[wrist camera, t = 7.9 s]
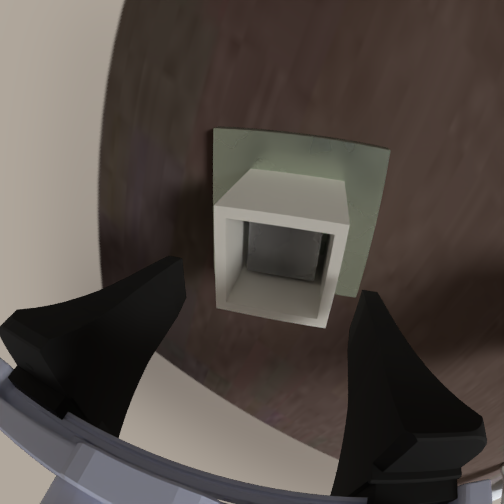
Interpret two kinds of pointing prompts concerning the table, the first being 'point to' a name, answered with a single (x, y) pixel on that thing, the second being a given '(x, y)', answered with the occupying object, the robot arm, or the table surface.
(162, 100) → the table surface
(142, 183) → the table surface
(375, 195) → the duct stub
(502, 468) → the beer glass
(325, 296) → the sleeve
